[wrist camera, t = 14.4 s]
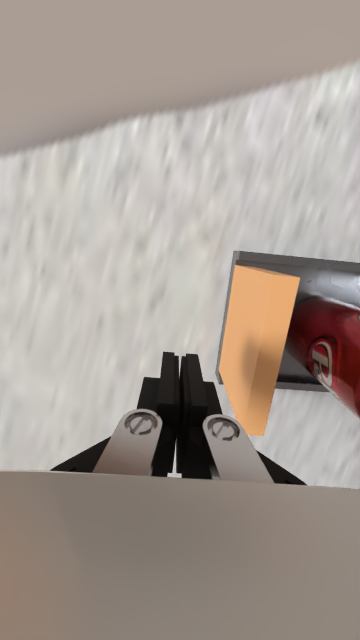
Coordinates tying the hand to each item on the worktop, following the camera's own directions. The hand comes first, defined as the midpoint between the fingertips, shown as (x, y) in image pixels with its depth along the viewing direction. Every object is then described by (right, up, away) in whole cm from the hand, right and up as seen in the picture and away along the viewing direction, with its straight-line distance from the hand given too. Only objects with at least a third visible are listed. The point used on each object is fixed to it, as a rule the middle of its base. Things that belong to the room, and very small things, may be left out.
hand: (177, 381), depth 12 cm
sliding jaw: (+6, +3, +14) cm, 15 cm away
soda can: (+14, +2, +15) cm, 21 cm away
